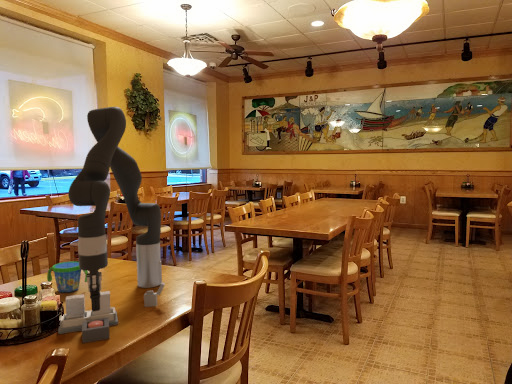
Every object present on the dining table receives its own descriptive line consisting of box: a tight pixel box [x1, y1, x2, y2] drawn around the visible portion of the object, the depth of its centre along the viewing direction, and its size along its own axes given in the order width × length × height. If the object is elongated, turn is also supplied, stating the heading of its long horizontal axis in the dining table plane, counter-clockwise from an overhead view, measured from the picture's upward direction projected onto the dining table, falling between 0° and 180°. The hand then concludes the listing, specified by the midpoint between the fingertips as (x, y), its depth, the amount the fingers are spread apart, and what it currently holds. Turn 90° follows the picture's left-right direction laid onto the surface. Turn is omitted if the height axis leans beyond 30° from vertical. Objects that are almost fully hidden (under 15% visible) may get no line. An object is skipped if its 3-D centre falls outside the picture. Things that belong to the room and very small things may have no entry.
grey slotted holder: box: [57, 290, 119, 335], centre depth 119 cm, size 16×9×9 cm, turn 112°
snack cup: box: [46, 260, 89, 293], centre depth 150 cm, size 16×10×10 cm
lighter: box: [143, 281, 166, 308], centre depth 133 cm, size 7×2×8 cm, turn 97°
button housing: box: [81, 318, 110, 344], centre depth 111 cm, size 7×7×4 cm
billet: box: [65, 293, 86, 320], centre depth 118 cm, size 5×3×8 cm, turn 112°
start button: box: [88, 321, 103, 328], centre depth 111 cm, size 4×4×2 cm
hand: (96, 310), depth 110 cm, fingers closed
